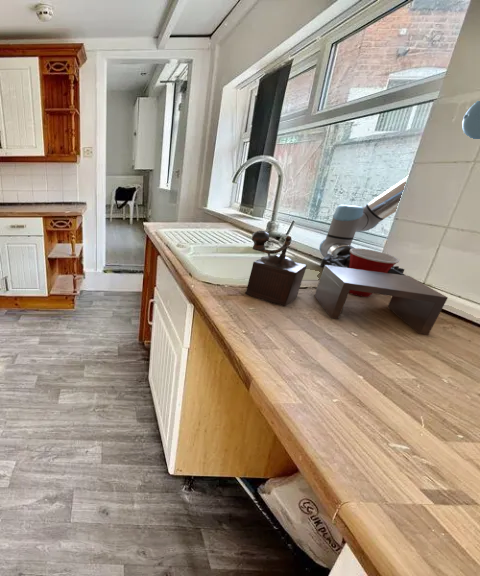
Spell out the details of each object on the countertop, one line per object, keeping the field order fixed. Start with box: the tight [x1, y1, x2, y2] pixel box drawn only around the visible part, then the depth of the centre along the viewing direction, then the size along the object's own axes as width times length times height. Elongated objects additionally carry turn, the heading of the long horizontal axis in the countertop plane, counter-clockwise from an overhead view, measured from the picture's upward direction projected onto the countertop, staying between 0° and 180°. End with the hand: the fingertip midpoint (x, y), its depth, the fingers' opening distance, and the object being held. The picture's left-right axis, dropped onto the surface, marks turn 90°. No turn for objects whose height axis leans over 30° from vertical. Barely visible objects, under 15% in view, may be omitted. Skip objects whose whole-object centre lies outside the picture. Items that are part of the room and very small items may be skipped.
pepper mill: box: [244, 230, 308, 307], centre depth 78 cm, size 16×11×18 cm
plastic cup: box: [348, 247, 400, 298], centre depth 86 cm, size 11×11×12 cm
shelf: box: [314, 265, 449, 336], centre depth 74 cm, size 18×15×9 cm
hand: (371, 275), depth 83 cm, fingers open, 12 cm apart
